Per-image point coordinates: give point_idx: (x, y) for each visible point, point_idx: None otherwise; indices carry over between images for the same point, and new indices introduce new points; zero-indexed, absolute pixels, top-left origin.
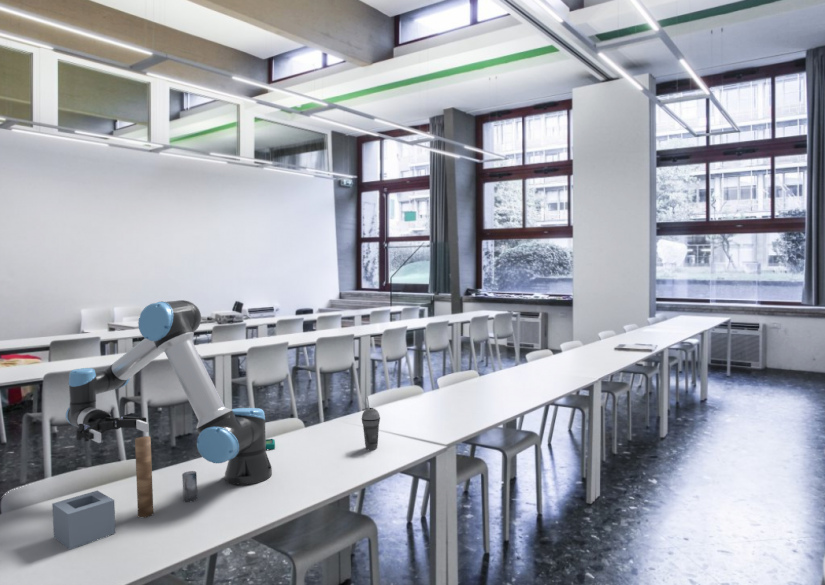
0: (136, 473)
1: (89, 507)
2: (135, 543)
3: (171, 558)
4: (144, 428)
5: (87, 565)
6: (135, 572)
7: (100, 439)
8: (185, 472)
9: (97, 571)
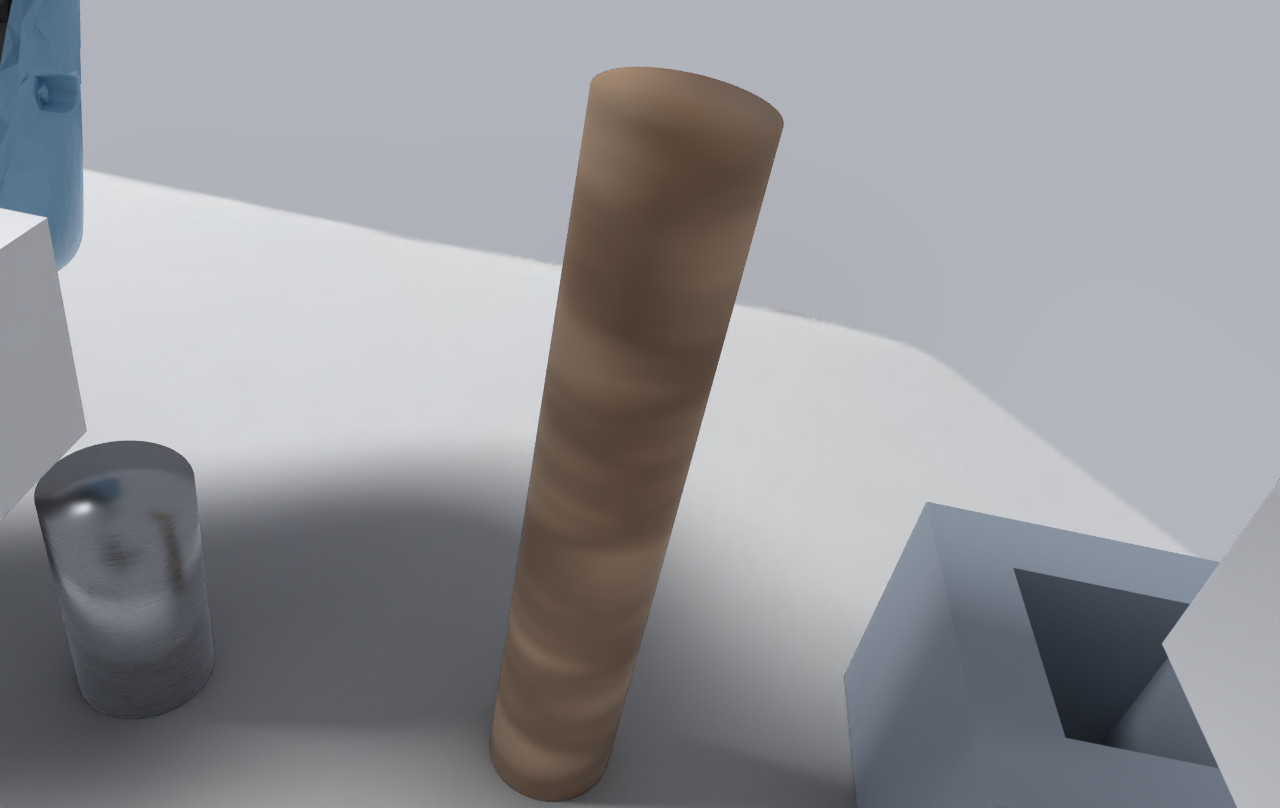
0: (683, 487)
1: (1104, 540)
2: (812, 502)
3: (769, 332)
4: (10, 412)
5: (1051, 525)
6: (906, 364)
7: (1217, 597)
8: (91, 530)
9: (1021, 462)
